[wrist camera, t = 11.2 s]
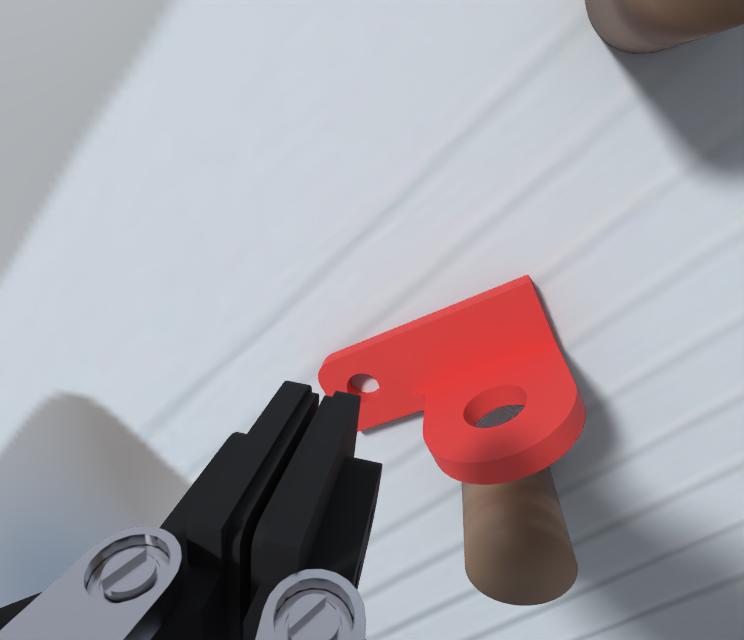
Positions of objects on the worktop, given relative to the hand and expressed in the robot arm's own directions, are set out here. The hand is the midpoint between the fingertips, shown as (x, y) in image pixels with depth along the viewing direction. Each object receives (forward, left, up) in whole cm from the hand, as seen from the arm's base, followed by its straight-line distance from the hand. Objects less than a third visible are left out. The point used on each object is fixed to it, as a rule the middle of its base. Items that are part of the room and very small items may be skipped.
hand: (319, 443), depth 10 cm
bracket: (-3, +5, -14) cm, 15 cm away
